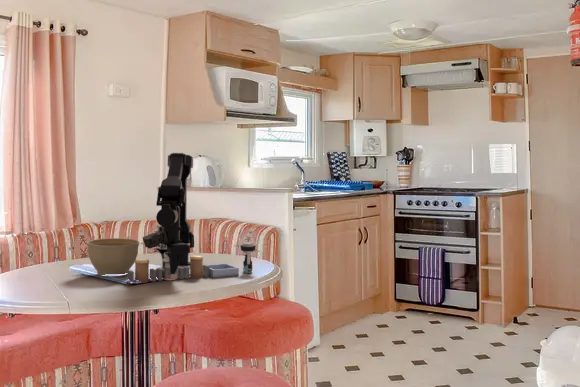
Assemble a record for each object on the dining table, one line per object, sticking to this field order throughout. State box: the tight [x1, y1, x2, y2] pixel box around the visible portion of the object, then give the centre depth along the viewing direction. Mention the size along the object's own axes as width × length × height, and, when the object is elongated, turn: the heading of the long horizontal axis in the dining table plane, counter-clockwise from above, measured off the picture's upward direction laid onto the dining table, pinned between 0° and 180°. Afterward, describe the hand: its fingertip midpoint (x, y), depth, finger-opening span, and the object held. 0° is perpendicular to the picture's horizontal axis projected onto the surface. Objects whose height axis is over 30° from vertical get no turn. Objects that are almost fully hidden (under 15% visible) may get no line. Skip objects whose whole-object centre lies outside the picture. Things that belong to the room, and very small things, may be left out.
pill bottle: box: [161, 252, 178, 281], centre depth 182 cm, size 5×5×8 cm
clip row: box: [127, 264, 210, 282], centre depth 182 cm, size 3×26×4 cm, turn 122°
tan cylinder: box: [189, 255, 204, 279], centre depth 187 cm, size 4×4×7 cm
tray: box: [202, 263, 240, 279], centre depth 192 cm, size 9×9×2 cm
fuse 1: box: [134, 258, 150, 284], centre depth 177 cm, size 4×4×7 cm
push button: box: [239, 241, 257, 274], centre depth 197 cm, size 7×5×10 cm
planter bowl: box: [86, 237, 140, 277], centre depth 186 cm, size 16×16×11 cm
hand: (169, 272), depth 182 cm, fingers closed on pill bottle, 5 cm apart
